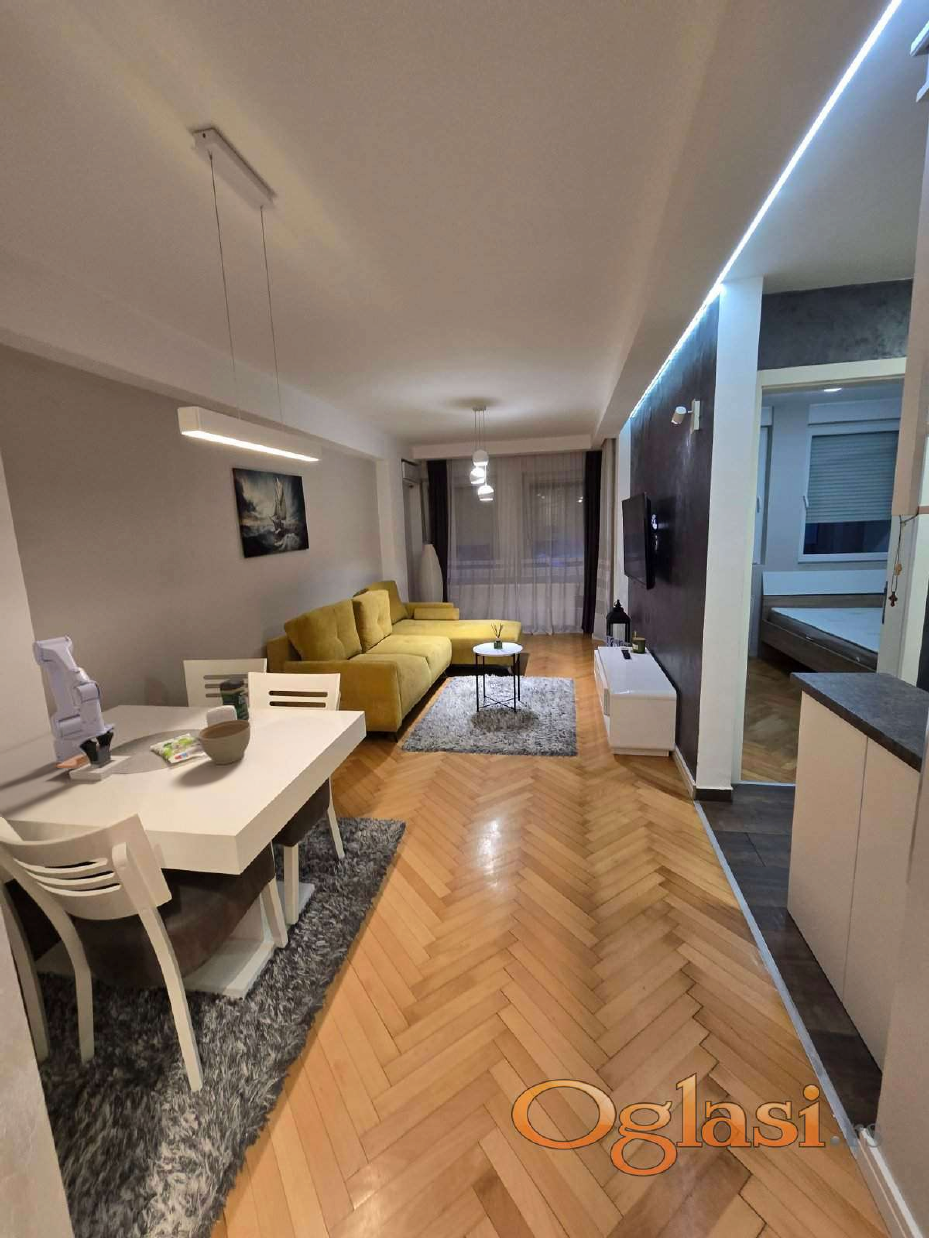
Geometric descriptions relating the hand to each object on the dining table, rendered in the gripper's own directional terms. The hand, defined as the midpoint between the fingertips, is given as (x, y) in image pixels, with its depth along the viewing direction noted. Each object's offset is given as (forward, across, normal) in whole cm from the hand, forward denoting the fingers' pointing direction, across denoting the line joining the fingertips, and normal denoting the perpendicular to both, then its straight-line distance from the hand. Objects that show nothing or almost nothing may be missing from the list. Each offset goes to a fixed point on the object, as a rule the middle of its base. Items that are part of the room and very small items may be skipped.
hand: (99, 757), depth 167 cm
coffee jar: (+5, +43, -21) cm, 48 cm away
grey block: (+2, 0, 0) cm, 2 cm away
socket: (+5, 0, 0) cm, 5 cm away
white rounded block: (+5, +28, -26) cm, 39 cm away
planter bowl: (+5, +11, -40) cm, 42 cm away
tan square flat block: (+2, 0, +9) cm, 9 cm away
